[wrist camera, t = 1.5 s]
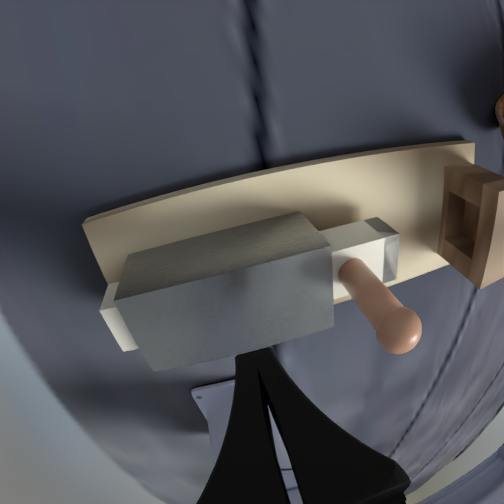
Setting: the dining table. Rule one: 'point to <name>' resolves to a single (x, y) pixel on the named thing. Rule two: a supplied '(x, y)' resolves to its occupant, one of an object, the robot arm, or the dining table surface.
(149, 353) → the grey rectangular sleeve
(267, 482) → the robot arm
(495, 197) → the socket block
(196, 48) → the dining table surface
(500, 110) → the tin
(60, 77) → the dining table surface
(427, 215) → the base board
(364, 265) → the white bar
